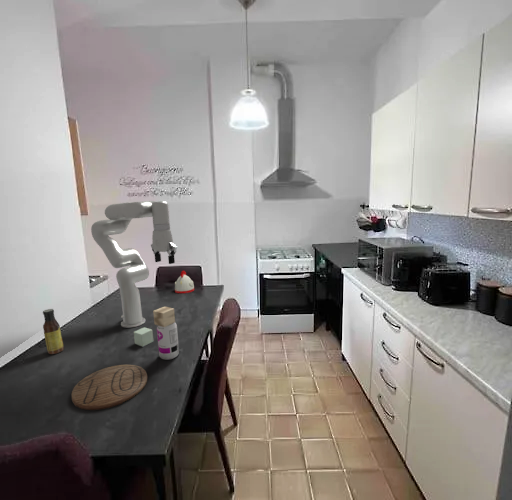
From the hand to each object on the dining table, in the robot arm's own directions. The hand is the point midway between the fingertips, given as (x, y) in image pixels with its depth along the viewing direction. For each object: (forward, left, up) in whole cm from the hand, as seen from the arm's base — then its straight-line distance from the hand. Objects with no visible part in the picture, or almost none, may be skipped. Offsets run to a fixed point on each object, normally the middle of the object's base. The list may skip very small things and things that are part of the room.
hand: (164, 262), depth 151 cm
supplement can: (+17, -16, -36) cm, 44 cm away
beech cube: (+17, -17, -21) cm, 32 cm away
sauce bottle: (-32, -40, -36) cm, 63 cm away
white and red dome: (-47, +55, -37) cm, 81 cm away
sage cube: (-3, -14, -36) cm, 39 cm away
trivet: (+16, -43, -37) cm, 59 cm away
